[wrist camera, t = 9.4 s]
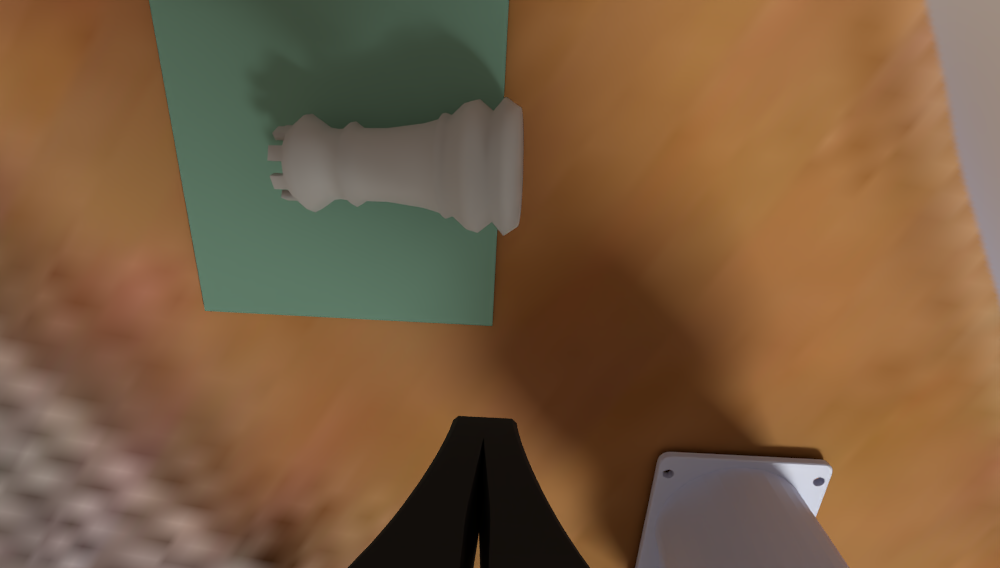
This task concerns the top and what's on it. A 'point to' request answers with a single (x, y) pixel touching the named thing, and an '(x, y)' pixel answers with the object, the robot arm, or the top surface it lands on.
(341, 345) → the top surface
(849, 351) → the top surface
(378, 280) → the felt mat
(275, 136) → the rook chess piece
